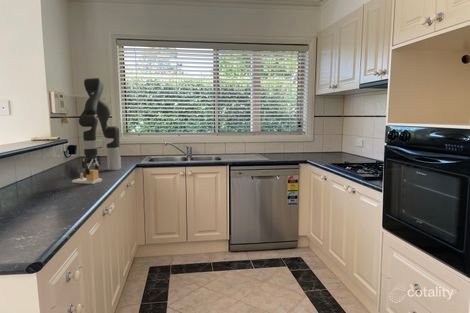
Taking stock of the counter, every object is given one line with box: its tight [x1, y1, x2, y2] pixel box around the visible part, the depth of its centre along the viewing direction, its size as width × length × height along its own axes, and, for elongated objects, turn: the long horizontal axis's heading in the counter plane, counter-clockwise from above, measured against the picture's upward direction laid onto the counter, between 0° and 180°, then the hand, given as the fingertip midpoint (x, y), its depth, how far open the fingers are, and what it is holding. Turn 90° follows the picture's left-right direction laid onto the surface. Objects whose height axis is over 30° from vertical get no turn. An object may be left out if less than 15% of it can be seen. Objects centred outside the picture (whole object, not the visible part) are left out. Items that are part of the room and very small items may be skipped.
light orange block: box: [85, 169, 100, 181], centre depth 202 cm, size 5×5×6 cm
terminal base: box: [71, 172, 103, 185], centre depth 203 cm, size 9×15×6 cm, turn 76°
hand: (92, 173), depth 202 cm, fingers open, 8 cm apart
